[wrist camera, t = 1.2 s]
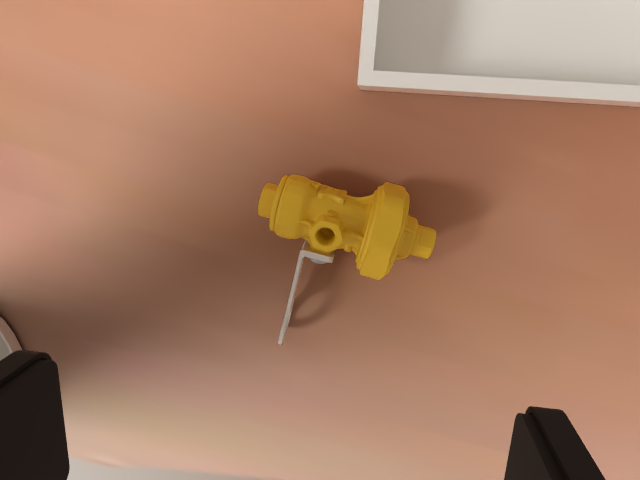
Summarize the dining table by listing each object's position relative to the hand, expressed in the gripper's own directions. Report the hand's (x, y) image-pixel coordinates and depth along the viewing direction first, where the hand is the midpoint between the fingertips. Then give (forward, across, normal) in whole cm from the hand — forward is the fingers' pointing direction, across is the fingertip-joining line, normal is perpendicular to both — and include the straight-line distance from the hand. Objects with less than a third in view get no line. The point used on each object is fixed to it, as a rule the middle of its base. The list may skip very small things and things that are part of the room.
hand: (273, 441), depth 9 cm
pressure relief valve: (+21, +1, +3) cm, 22 cm away
